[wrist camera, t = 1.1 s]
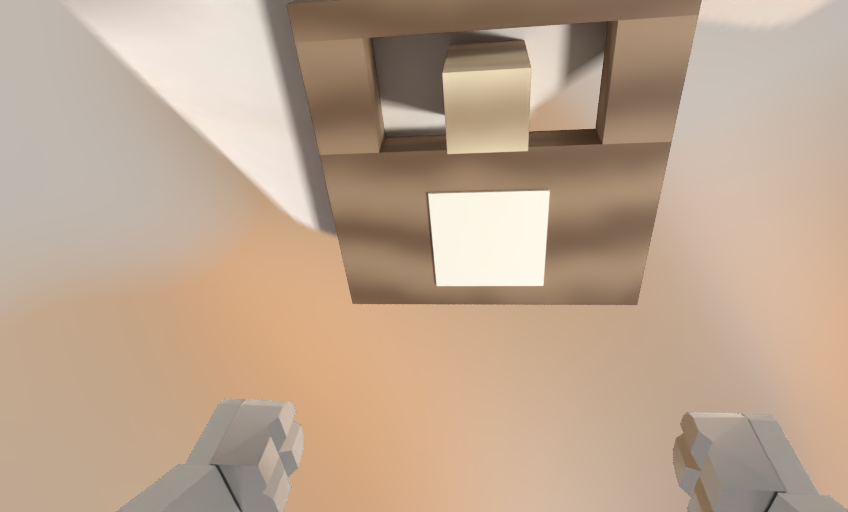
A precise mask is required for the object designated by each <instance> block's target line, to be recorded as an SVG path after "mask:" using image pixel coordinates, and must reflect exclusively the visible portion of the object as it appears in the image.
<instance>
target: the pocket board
mask: <svg viewBox="0 0 848 512" xmlns="http://www.w3.org/2000/svg"><path fill="white" fill-rule="evenodd" d="M701 1H702V0H295V1H293V2H291V3H289V4H287V9H288V14H289V18H290V23H291V27H292V32H293V36H294V41H295V45H296V50H297V54H298V59H299V63H300V68H301V72H302V77H303V81H304V86H305V90H306V95H307V99H308V104H309V108H310V113H311V117H312V122H313V127H314V131H315V136H316V140H317V145H318V149H319V154H320V158H321V163H322V167H323V172H324V176H325V181H326V185H327V190H328V194H329V199H330V203H331V208H332V212H333V217H334V221H335V226H336V230H337V235H338V240H339V244H340V248H341V253H342V258H343V262H344V266H345V271H346V276H347V280H348V284H349V289H350V293H351V298H352V303H353V304H527V305H528V304H531V305H535V304H536V305H538V304H543V305H545V304H546V305H637V302H638V298H639V293H640V288H641V283H642V279H643V274H644V269H645V265H646V260H647V255H648V251H649V246H650V241H651V236H652V232H653V227H654V222H655V218H656V213H657V208H658V203H659V199H660V194H661V189H662V185H663V180H664V175H665V170H666V166H667V161H668V156H669V152H670V146H671V142H672V137H673V132H674V128H675V123H676V119H677V114H678V108H679V104H680V99H681V95H682V90H683V86H684V81H685V76H686V71H687V67H688V62H689V57H690V52H691V48H692V43H693V38H694V34H695V29H696V24H697V20H698V15H699V10H700V5H701ZM603 21H608V27H607V35H606V44H605V52H604V61H603V70H602V79H601V87H600V96H599V104H598V113H597V121H596V129H581V130H559V131H534V132H529V140H528V151H518V152H491V153H464V154H447V140H446V135H437V136H413V137H389V138H385V131H384V124H383V117H382V109H381V102H380V95H379V87H378V80H377V73H376V65H375V58H374V51H373V43H372V37H387V36H401V35H416V34H430V33H444V32H459V31H473V30H488V29H502V28H517V27H531V26H545V25H560V24H574V23H589V22H603Z"/></svg>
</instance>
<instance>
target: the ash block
mask: <svg viewBox="0 0 848 512" xmlns="http://www.w3.org/2000/svg"><path fill="white" fill-rule="evenodd" d="M442 76H443V92H444V108H445V124H446V140H447V154H464V153H491V152H518V151H528V140H529V114H530V87H531V65H530V61H529V57H528V53H527V49H526V45H525V41H524V40H518V41H503V42H488V43H473V44H458V45H449V49H448V52H447V56H446V60H445V64H444V68H443V72H442Z"/></svg>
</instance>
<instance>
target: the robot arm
mask: <svg viewBox="0 0 848 512" xmlns="http://www.w3.org/2000/svg"><path fill="white" fill-rule="evenodd" d="M295 413H296V411H295V408H294V405H293V403H292V402H284V401H267V400H250V399H226V398H225V399H224V400H223V401H221V402H220V403H219V404H218V406H217V408H216V410H215V411H214V413H213V415H212V416H211V418H210V420H209V422H208V424H207V426H206V427H205V429H204V431H203V433H202V434H201V437H200V438H199V440H198V442H197V443H196V445H195V447H194V449H193V451H192V452H191V454H190V456H189V458H188V460H187V461H186V463H185V464H178V465H176V466H175V467H174V468H173V469H171V470H170V471H169V472H167V473H166V474H165V475H163V476H162V477H161V478H159V479H158V480H157V481H156V482H154V483H153V484H152V485H150V486H149V487H148V488H147V489H145V490H144V491H143V492H141V493H140V494H139V495H137V496H136V497H135V498H133V499H132V500H131V501H130V502H128V503H127V504H126V505H124V506H123V507H122V508H120V509H119V510H118V511H116V512H283V510H284V507H285V505H286V501H287V499H288V496H289V493H290V490H291V484H290V482H289V479H288V477H289V476H290V475H291V474H292V473H293V472H294V471H295V470H297V469H298V467H299V464H300V461H301V457H302V453H303V445H304V438H303V431H302V428H301V425H300V424H299V423H298V422H296V421H295V420H294V416H295ZM680 425H681V427H682V430H683V434H682V435H680V436H679V437H677V438H676V440H675V444H674V448H673V464H674V469H675V474H676V477H677V480H678V483H679V486H680V487H681V488H682V489H683V490H684V491H685V492H686V493H687V494H688V495H689V496H690V497H691V499H690V502H689V504H688V507H687V510H688V512H848V509H847V508H845V507H844V506H843V505H841V504H840V503H839V502H837V501H836V500H835V499H834V498H832V497H831V496H829V495H820V493H819V492H818V490H817V488H816V486H815V485H814V483H813V481H812V480H811V478H810V476H809V474H808V473H807V471H806V469H805V468H804V466H803V464H802V462H801V461H800V459H799V457H798V456H797V454H796V452H795V451H794V449H793V447H792V445H791V444H790V442H789V440H788V439H787V437H786V435H785V434H784V432H783V430H782V428H781V426H780V425H779V423H778V421H777V420H776V419H775V418H774V417H773V416H772V415H768V414H739V413H703V412H701V413H700V412H687V413H686V414H684V415H683V418H682V420H681V423H680Z"/></svg>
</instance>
